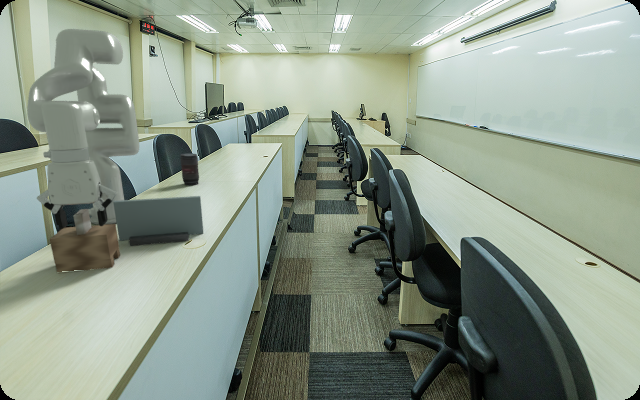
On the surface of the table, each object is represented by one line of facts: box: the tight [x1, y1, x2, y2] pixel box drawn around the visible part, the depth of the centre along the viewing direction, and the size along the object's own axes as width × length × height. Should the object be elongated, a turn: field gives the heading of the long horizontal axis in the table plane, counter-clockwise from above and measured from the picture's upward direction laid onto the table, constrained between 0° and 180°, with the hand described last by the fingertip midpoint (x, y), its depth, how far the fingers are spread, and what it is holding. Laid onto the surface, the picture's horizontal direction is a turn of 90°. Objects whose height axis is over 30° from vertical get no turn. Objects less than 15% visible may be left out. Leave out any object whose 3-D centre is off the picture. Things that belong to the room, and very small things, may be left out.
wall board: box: [113, 195, 204, 242], centre depth 108 cm, size 24×2×12 cm, turn 105°
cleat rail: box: [128, 232, 190, 247], centre depth 104 cm, size 16×2×2 cm, turn 105°
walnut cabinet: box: [49, 208, 121, 273], centre depth 89 cm, size 12×8×14 cm, turn 105°
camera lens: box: [179, 153, 200, 186], centre depth 176 cm, size 8×8×15 cm
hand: (83, 225), depth 88 cm, fingers open, 8 cm apart
